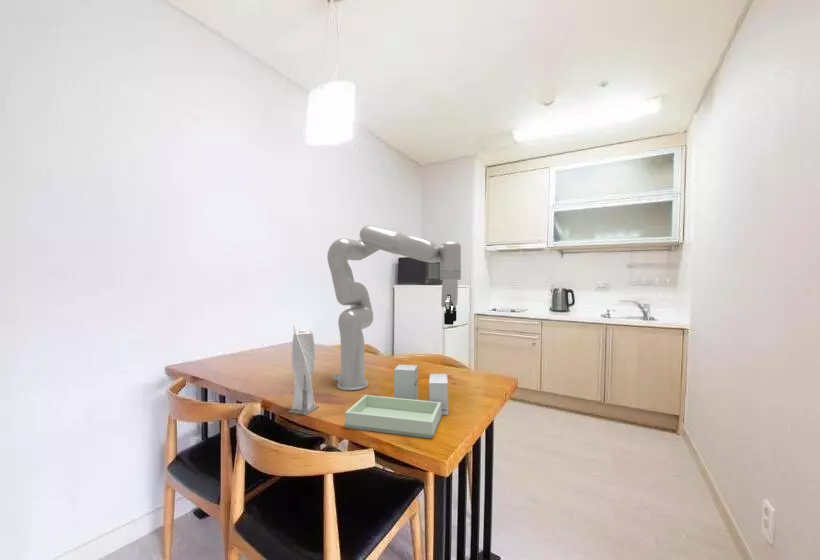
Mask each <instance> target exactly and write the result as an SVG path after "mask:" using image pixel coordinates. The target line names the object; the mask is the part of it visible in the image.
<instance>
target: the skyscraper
mask: <svg viewBox="0 0 820 560" xmlns="http://www.w3.org/2000/svg"><path fill="white" fill-rule="evenodd" d="M291 343H292V344H291V368H292V370H291V371H292V375H293V379H294V387H293V388H294V390H293V397H292V404H291V409H290V410H288V411H287V413H289V414H295V415H300V416H308V415H309V414H311V413H312V412H314V411H315V410H317V409H318V408H319V407H320V406H319V405H316V404H315V403H316V402H315V398H314V392H313V384H312V376H313V373H314V366H315V359H316V349H315V339H314V332H313V330H312V329H311V328H310V329H309V330H308V329H299V330H297V326H296V325H293V335H292V342H291ZM310 412H311V413H310Z"/></svg>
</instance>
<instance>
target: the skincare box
mask: <svg viewBox="0 0 820 560" xmlns="http://www.w3.org/2000/svg"><path fill="white" fill-rule="evenodd" d="M428 378H429V380H428V401H434V402H442V416H449V415H450V414H449V381H448V373H429V377H428Z"/></svg>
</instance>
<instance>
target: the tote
mask: <svg viewBox="0 0 820 560" xmlns="http://www.w3.org/2000/svg"><path fill="white" fill-rule="evenodd" d="M442 416H443V415H442V402H434V401H429V400H421V399H417V400H414V399H403V398H394V396H383V395H380V396H379V395H373V394H371V395H370V394H364V395H363V396H362V397H361V398H360V399H359V400H358V401H356V402H355V403H354V404H353V405H352V406H350V407H349V409H347V410H346V411H345V412H344V428H345V429H352V430H353V429H354V430H360V431H368V432H369V431H370V432H375V433H377V432H378V433H385V434H393V435H399V436H406V437H407V436H408V437H416V438H424V439H430V440H431V439H434V436H435V433H436V431H437V429H438V426H439V425H440V421H441V419H442Z"/></svg>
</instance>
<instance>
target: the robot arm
mask: <svg viewBox="0 0 820 560" xmlns="http://www.w3.org/2000/svg"><path fill="white" fill-rule="evenodd" d="M379 250H381V251H385V252H386V253H387V252H388V253H391V254H393V255H400V256H403V257H407V258H410V259H414V260H417V261H419V262H420V261H421V262H424V263H425V262H426V263H430V264H434V263H439V271H440V272H439V277H440V278H439V280H440V281H442V282H441V303H440V304H441V307H442V308H444V313H443V321H444V322H443V323H444V325H454V323H455V322H457V305H458V299H459V298H458V297H459V296H458V294H459V293H458V292H459V288H458V287H459V285H458V284H459V282H458V281H460V280H462V258H461V257H462V246H461V244H460V243H459V242H458V241H444V242H442V243H435V242H432V241H429V240H426V239H422V238H419V237H414V236H411V235H407V234H404V233H402V232H399V231H396V230H392V229H388V228H384V227H380V226H377V225H371V224H368V225H364V226H363V227H362V228H361V229H360V231H359V239H358V240H356V239H351V238H348V237H347V238H345V237H343V238H337V239H336V240H334V241H333V242H332V243H331V245H330V246H329V248H328V251H327V256H326V258H327V263H328V267H329V271H330V274H331V278H332V279H331V280H332V283H333V289H334V292H335V297H336V300H337V302H338V303H339V305H341V306H350V308H346V309H345V310H343V311H342V312H341V313H340V314H339V317H338V321H337V322H338V323H337V324H338V330H339V337H340V374H338V373H333V374H332V380H333V381H337V383H336V387H337V389H339V390H343V391H347V392H348V391H349V392H350V391H359V390H364V389H366V388H367V387H368V386H369V381H368V380H367V379H366V378H365V338H364V337H365V336H364V333H363V330H364V329H367V328H369V327H371V325H372V323H373V322H374V314H373V313H374V312H373V309H372V308H373V307H372V304H371V300H370V296H369V292H368V289H367V288H366V286H365V285H364V284H362V283H361V282H355V279H354V274H353V270H352V268H351V266H350V264H349V262H348V260H349V261H361V260H363V259H366V258H368V257H369V256H371V255H373V254H375V253H376V252H378V251H379Z"/></svg>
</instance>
